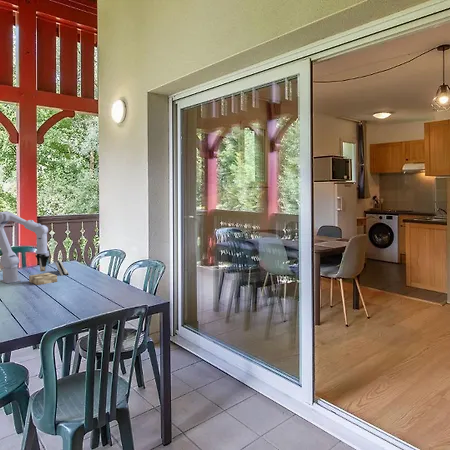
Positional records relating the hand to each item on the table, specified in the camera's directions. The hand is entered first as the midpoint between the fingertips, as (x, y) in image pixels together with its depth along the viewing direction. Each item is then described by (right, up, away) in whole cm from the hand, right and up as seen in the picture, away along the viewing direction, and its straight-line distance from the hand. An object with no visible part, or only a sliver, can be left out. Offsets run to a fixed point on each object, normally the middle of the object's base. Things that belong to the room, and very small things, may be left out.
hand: (42, 266), depth 235 cm
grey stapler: (0, -8, +27) cm, 28 cm away
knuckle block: (0, -10, +1) cm, 10 cm away
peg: (0, -3, 0) cm, 3 cm away
